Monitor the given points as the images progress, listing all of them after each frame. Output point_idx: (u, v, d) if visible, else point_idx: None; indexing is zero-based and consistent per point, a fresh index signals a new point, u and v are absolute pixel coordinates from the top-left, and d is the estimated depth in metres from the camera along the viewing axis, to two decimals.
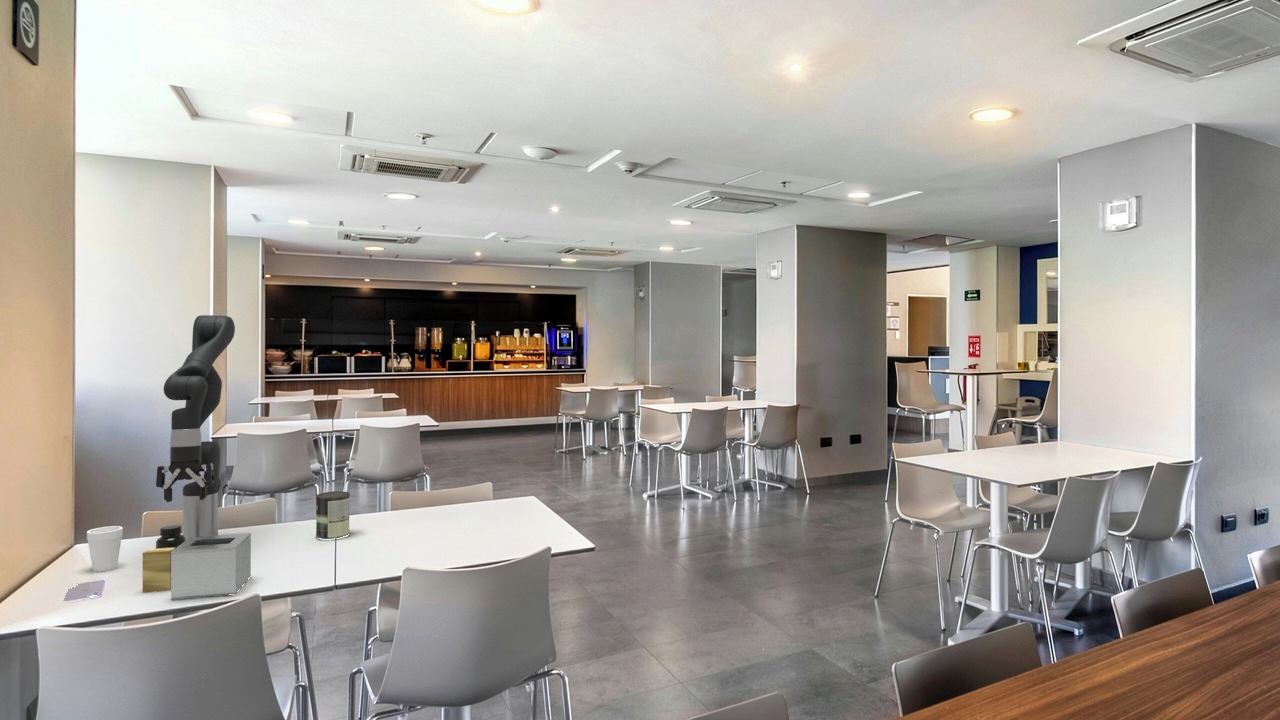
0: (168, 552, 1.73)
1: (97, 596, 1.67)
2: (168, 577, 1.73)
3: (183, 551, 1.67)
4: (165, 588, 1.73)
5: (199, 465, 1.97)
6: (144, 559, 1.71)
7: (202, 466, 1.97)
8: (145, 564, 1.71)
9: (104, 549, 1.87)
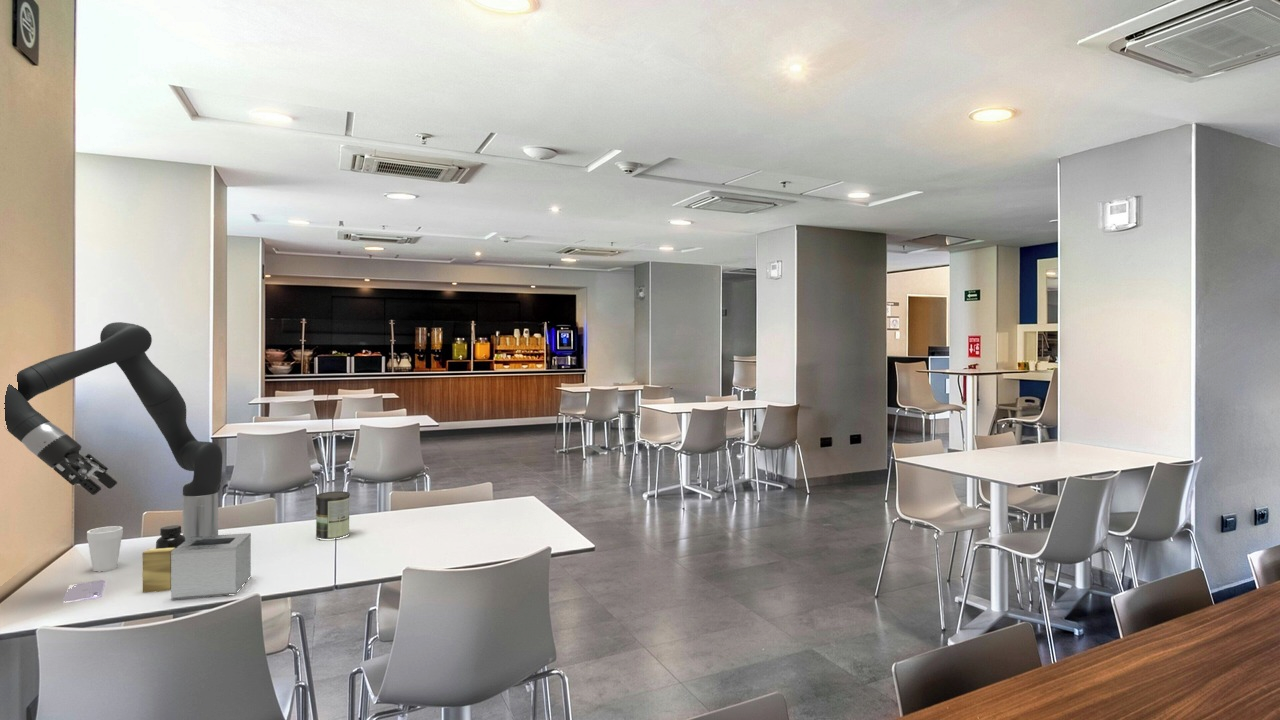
0: (168, 552, 1.73)
1: (97, 596, 1.67)
2: (168, 577, 1.73)
3: (183, 551, 1.67)
4: (165, 588, 1.73)
5: None
6: (144, 559, 1.71)
7: None
8: (144, 564, 1.71)
9: (104, 549, 1.87)
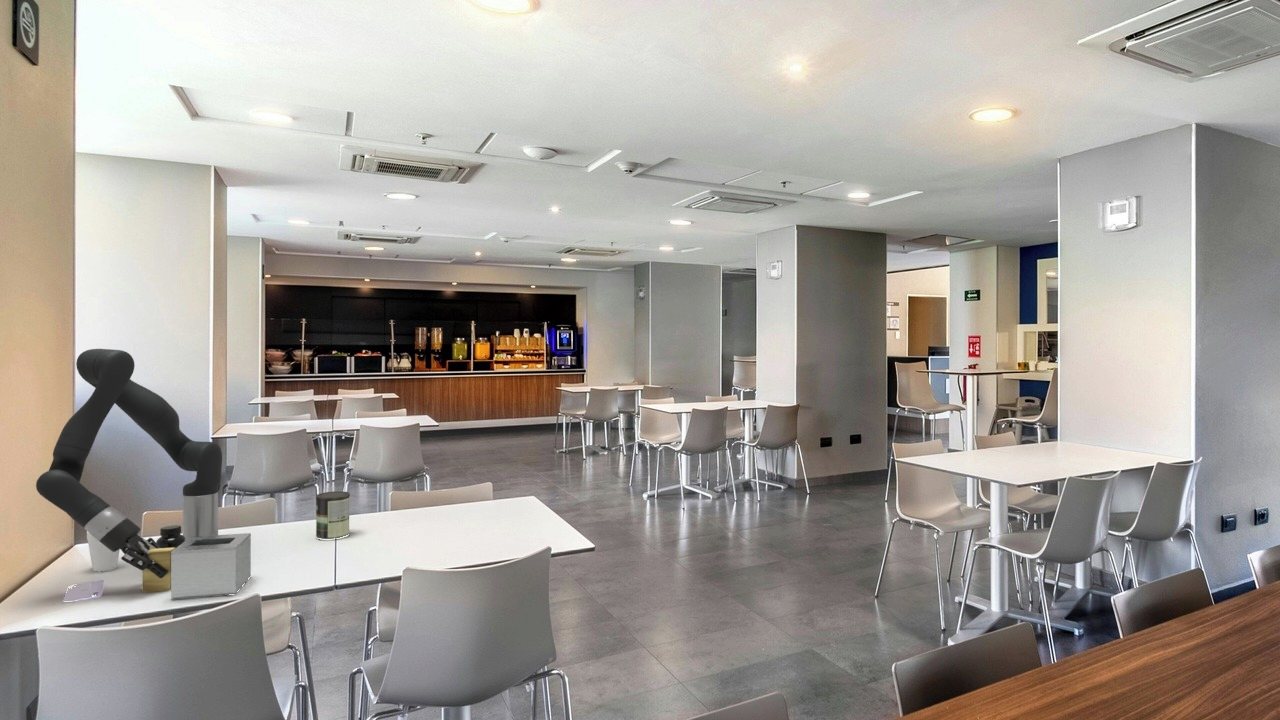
0: (168, 552, 1.73)
1: (97, 596, 1.67)
2: (168, 577, 1.73)
3: (183, 551, 1.67)
4: (165, 588, 1.73)
5: (123, 552, 1.68)
6: None
7: None
8: None
9: (104, 549, 1.87)
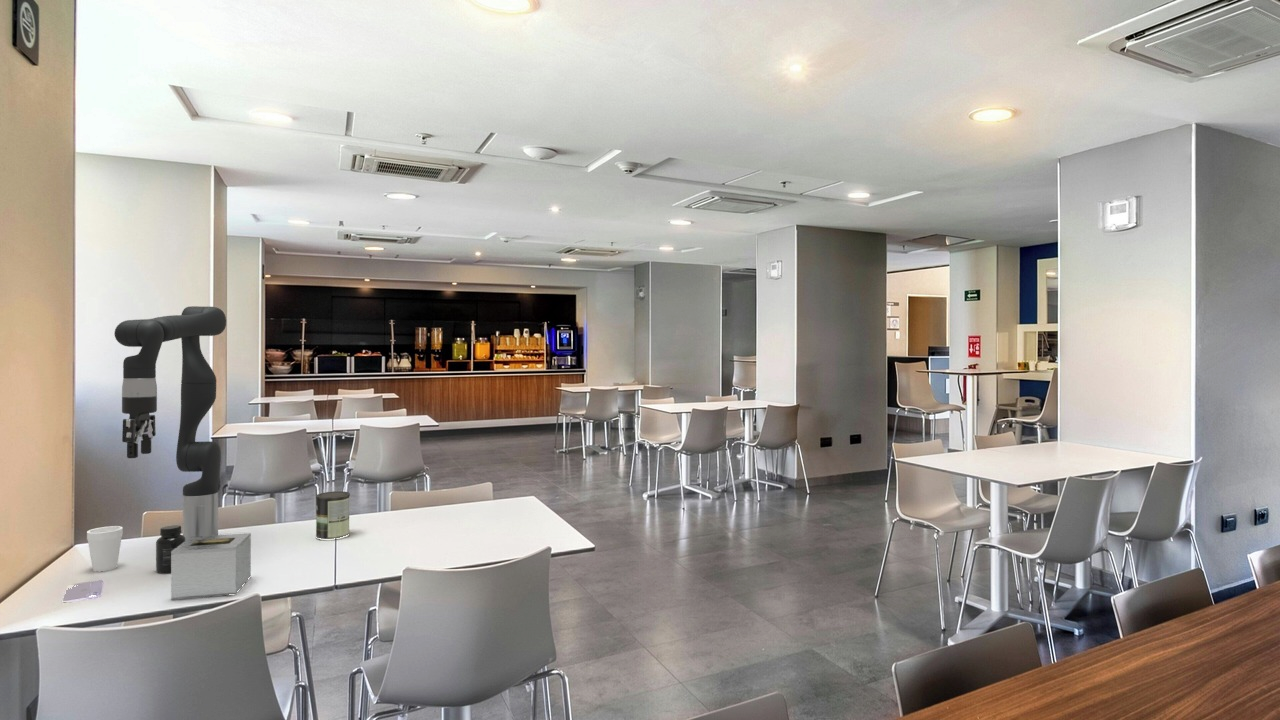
0: None
1: (97, 596, 1.68)
2: None
3: (183, 551, 1.67)
4: None
5: None
6: None
7: None
8: None
9: (104, 549, 1.87)
